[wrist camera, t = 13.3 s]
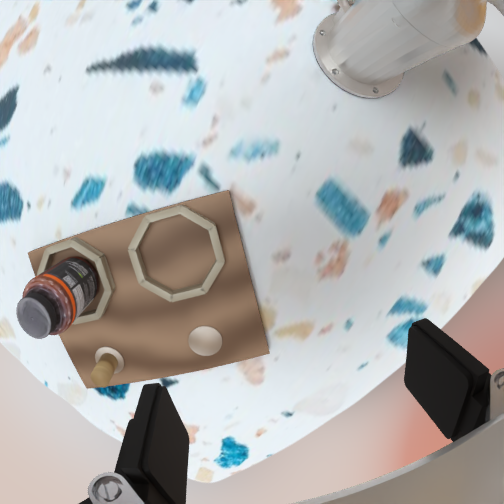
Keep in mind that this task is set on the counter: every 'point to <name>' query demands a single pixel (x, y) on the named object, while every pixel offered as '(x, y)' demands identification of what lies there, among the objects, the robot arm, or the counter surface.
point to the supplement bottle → (57, 297)
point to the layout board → (157, 315)
